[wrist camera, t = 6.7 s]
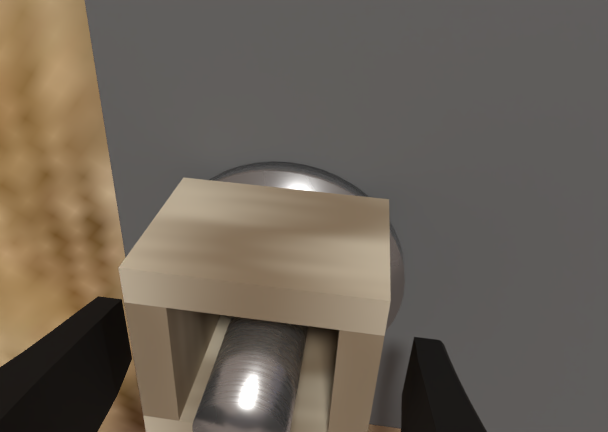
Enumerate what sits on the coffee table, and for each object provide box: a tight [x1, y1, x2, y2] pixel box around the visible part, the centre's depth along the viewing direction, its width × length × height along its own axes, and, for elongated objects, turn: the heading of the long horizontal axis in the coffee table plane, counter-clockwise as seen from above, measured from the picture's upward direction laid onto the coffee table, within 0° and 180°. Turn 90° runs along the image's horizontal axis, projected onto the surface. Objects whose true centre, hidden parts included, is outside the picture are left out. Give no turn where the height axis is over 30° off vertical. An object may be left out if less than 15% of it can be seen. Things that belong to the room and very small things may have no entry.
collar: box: [119, 177, 391, 432], centre depth 13 cm, size 5×5×4 cm
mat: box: [85, 0, 608, 432], centre depth 12 cm, size 16×26×1 cm, turn 177°
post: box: [192, 161, 405, 432], centre depth 13 cm, size 7×7×6 cm
